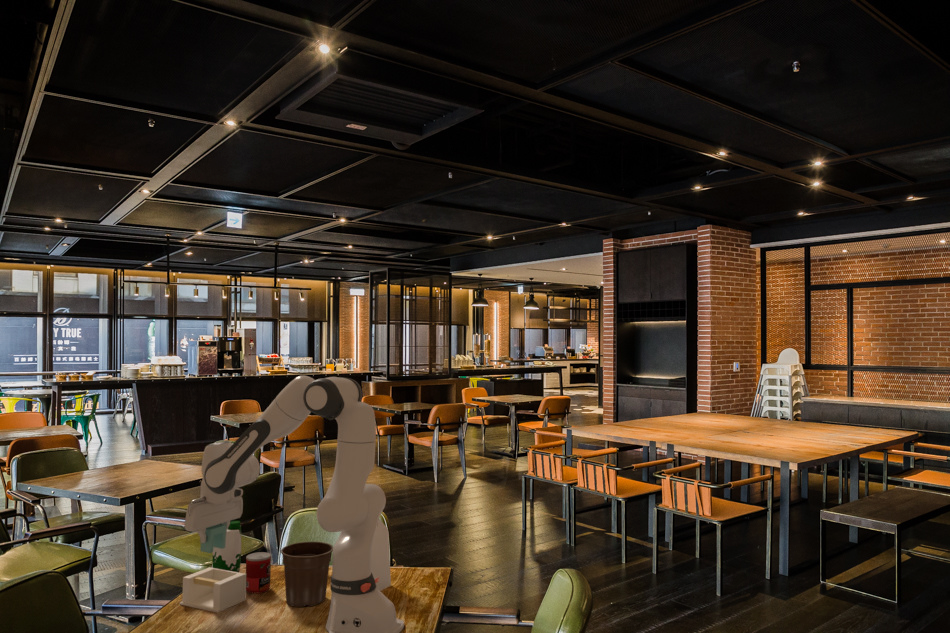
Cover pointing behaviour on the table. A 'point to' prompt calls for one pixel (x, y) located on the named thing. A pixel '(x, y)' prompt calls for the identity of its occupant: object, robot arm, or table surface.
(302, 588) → the plant pot
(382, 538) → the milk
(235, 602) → the shelf
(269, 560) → the canned food
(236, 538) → the milk carton
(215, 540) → the green slotted block
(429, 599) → the table surface
